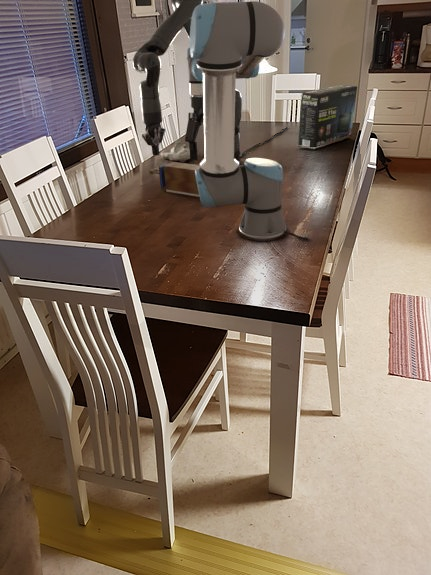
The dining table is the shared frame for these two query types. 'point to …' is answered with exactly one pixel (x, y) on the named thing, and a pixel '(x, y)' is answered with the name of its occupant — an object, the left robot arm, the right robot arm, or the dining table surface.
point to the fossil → (177, 153)
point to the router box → (326, 115)
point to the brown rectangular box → (181, 178)
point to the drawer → (162, 175)
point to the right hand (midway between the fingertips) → (203, 155)
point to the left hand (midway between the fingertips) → (156, 155)
